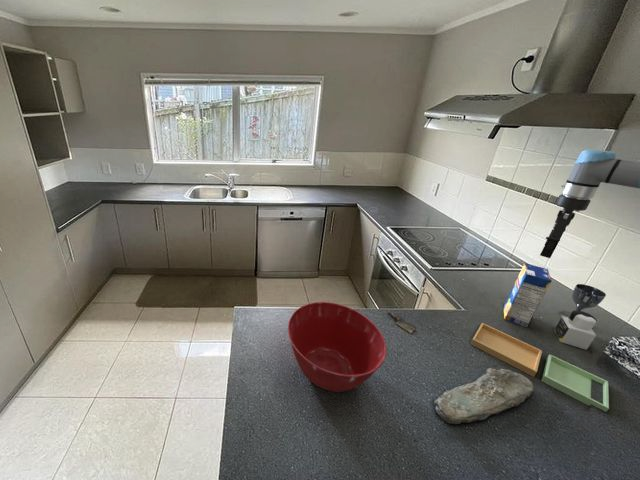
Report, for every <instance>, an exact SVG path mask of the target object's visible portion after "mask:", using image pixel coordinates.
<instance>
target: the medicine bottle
mask: <svg viewBox="0 0 640 480" xmlns="http://www.w3.org/2000/svg"><path fill="white" fill-rule="evenodd" d="M569 315H570V316H569V318H567V317H560V319H559V321H558V322H557V324H556V325H555V327H554V329H553V332H554V333H555V334H556V336H557V339H558V340H559V342H560V343H563V344H566V345H569V346H572V347H575V348H579V349H582V350H588V348H589V347H590V346H591V345H592V343H593V342H594V340H595V338H596V337H597V334H596V333H595V332H594V330H593V328H594V327H595V325H596V324H597V322H598V320H597V319H596V317H594V316H593V315H592V314H590V313H588V312H586V311H583V310H581V311H577V310H576V309H575V310H572V312H571V313H570V314H569Z"/></svg>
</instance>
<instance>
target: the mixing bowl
mask: <svg viewBox="0 0 640 480" xmlns="http://www.w3.org/2000/svg"><path fill="white" fill-rule="evenodd" d="M287 333H288V338H289V342H290V345H291V349H292V352H293V355H294V358H295V360H296V362H297V365H298V367H299V368H300V370H301V371H302V373H303V375H304V376H305V377H306V378H307V379H308V380H309V381H310V382H311V383H312V384H314V385H315V386H317V387H319V388H321V389H323V390H326V391H329V392H337V393H340V392H346V391H350V390H352V389H354V388H355V389H356V388H357V387H359V386H360V385H362V384H363V383H364V382H366V381H367V380H368V379H370V378H371V376H372V375H373V374H374V373H375V372H376V371H377V370H378V369H380V367H381V366H382V365H383V364H384V362H385V360H386V357H387V344H386V340H385V337H384V335H383V334H382V332H381V331H380V330H379V328H378V327H377V326H376V324H375V323H374V322H372V321H371V319H369V318H368V317H367V316H365V315H364V314H362V313H361V312H359V311H357V310H356V309H353V308H351V307H348V306H346V305H343V304H340V303H335V302H329V301H317V302H316V301H315V302H310V303H306V304H304V305H301V306H300V307H298V308H297V309H295V311H293V313H292V314H291V315H290V318H289V320H288V324H287Z"/></svg>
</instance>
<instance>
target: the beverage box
mask: <svg viewBox="0 0 640 480" xmlns="http://www.w3.org/2000/svg"><path fill="white" fill-rule="evenodd" d="M551 284H552V278H551V274H550V271H549V269H548V268H545V267H542V266H537V265H534V264H530V263H526V262H524V263H523V266H522V268H521V270H520V272H519V273H518V276H517V278H516V280H515V281H514V284H513V286H512V288H511V290H510V292H509V294H508V296H507V298H506V301H505V303H504V305H503V320H504V321H507V322H509V323H513V324H514V325H517V326H521V327H524V328H528V326H529V324H530V322H531V320H532V319H533V317H534V314H535V313H536V311H537V309H538V308H539V305H540V304H541V302H542V300H543V299H544V296H545V295H546V293H547V291H548V290H549V287H550V285H551Z"/></svg>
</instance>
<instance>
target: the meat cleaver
mask: <svg viewBox="0 0 640 480" xmlns="http://www.w3.org/2000/svg"><path fill="white" fill-rule="evenodd" d="M386 314H388V315H389V316H391V317H392V318H394V319H395V320H396V322H395V324H396V325H398V326H399V327H401V328H403V330H405V331H407V332H409V334H412V333H414V331H415V327H414V326H411V325H408V324H406V323H405V322H404V321H402V320H401V318H400V317H399V316H398V315H396V314H395V313H394V312H392V311H390V310H388V311H387V313H386Z"/></svg>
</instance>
